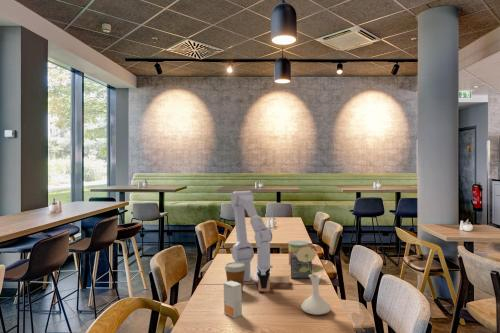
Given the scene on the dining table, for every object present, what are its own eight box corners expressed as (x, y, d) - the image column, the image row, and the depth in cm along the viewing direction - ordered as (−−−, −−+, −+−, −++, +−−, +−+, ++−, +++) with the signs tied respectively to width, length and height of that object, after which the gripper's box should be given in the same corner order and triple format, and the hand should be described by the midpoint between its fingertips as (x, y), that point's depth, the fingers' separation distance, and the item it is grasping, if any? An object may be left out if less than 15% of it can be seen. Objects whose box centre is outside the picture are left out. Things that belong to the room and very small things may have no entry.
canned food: (289, 266, 200) (289, 245, 200) (288, 261, 211) (287, 240, 211) (309, 266, 200) (309, 244, 199) (307, 260, 211) (307, 240, 211)
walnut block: (270, 288, 166) (269, 282, 166) (270, 282, 175) (270, 276, 175) (289, 289, 166) (289, 282, 165) (288, 282, 174) (288, 276, 174)
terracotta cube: (258, 291, 161) (258, 280, 161) (258, 287, 166) (258, 276, 166) (269, 291, 160) (269, 280, 160) (269, 287, 165) (269, 276, 165)
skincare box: (223, 313, 138) (223, 282, 138) (231, 310, 141) (231, 280, 141) (234, 318, 134) (233, 286, 134) (242, 314, 137) (242, 283, 137)
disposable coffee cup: (243, 295, 157) (243, 268, 157) (222, 294, 159) (222, 267, 159) (247, 288, 167) (247, 262, 167) (228, 287, 169) (227, 261, 168)
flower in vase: (331, 307, 143) (330, 244, 143) (330, 319, 132) (329, 251, 132) (298, 304, 147) (297, 242, 146) (294, 315, 136) (293, 249, 135)
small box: (311, 275, 184) (311, 254, 184) (312, 279, 178) (312, 258, 178) (290, 274, 185) (290, 254, 185) (290, 278, 179) (290, 257, 179)
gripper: (272, 260, 155) (272, 291, 155) (272, 252, 170) (273, 280, 170) (255, 260, 156) (256, 291, 156) (257, 252, 170) (258, 280, 170)
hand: (264, 286), depth 163 cm, fingers closed on terracotta cube, 5 cm apart
